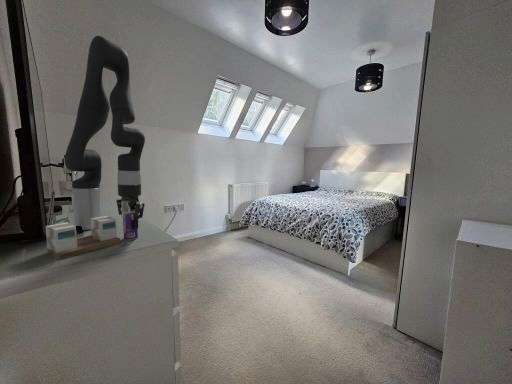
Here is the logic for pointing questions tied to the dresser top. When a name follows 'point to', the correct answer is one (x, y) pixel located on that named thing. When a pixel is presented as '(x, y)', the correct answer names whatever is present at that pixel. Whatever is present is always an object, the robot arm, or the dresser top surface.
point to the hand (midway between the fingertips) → (130, 227)
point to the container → (128, 224)
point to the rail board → (67, 244)
